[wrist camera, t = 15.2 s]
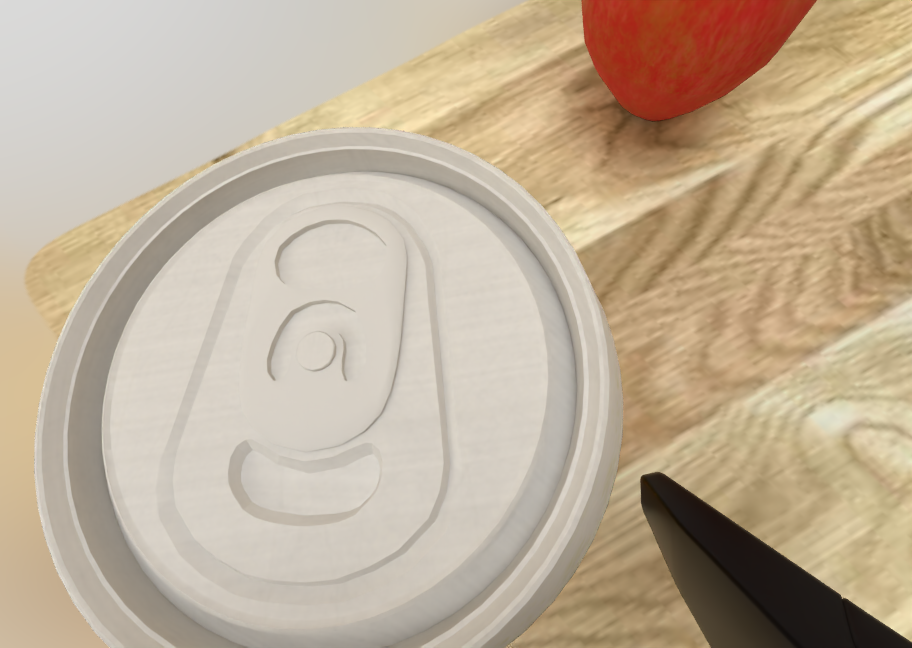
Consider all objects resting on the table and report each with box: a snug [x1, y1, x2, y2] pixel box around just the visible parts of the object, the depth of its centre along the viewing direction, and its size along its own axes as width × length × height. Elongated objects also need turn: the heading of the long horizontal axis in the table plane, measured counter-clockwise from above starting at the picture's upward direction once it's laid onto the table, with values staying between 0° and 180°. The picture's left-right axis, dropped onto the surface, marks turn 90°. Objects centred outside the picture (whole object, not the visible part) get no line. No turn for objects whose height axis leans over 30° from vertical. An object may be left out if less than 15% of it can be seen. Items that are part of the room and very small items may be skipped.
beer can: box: [34, 127, 623, 648], centre depth 11 cm, size 6×6×15 cm
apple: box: [582, 0, 817, 121], centre depth 18 cm, size 9×8×11 cm
